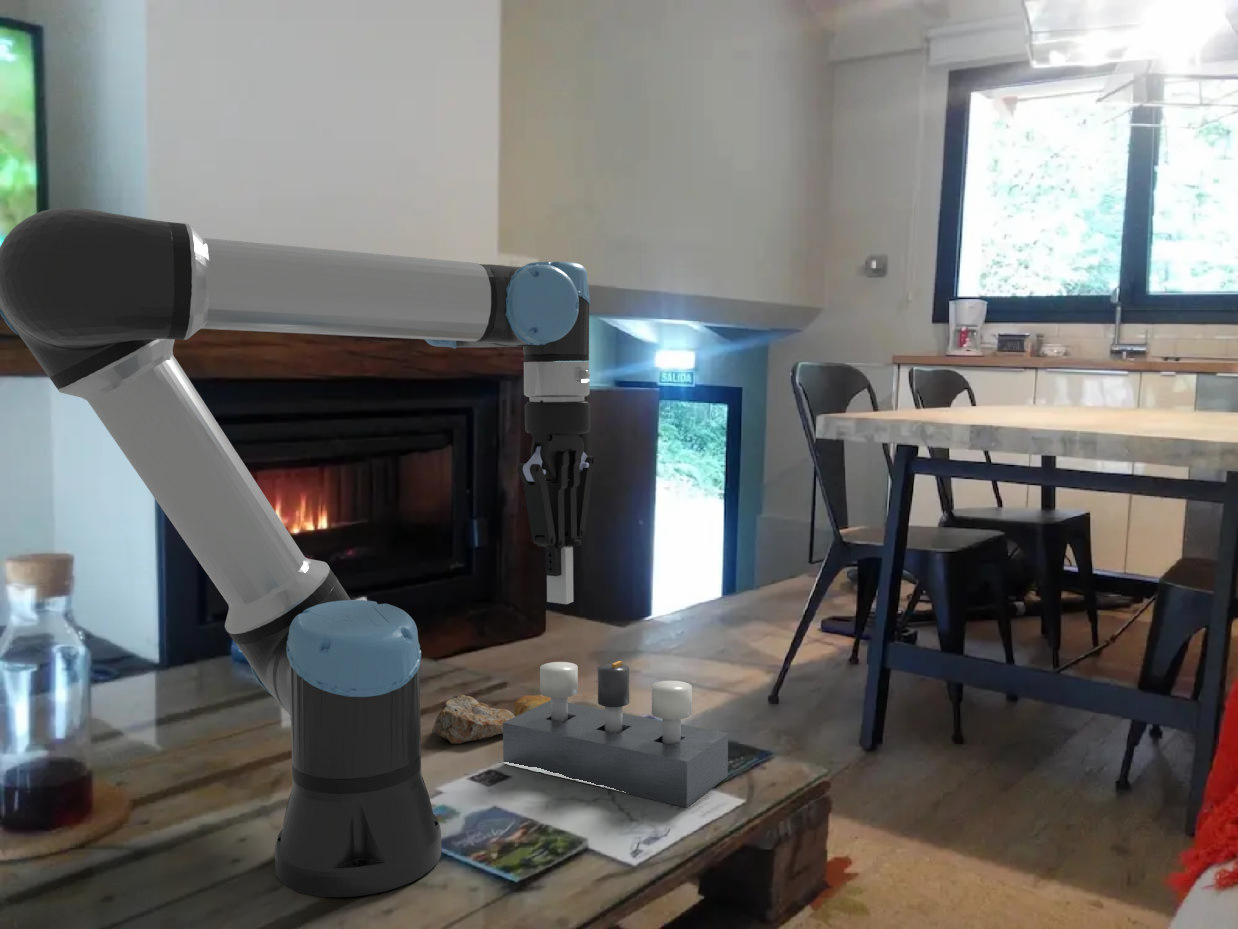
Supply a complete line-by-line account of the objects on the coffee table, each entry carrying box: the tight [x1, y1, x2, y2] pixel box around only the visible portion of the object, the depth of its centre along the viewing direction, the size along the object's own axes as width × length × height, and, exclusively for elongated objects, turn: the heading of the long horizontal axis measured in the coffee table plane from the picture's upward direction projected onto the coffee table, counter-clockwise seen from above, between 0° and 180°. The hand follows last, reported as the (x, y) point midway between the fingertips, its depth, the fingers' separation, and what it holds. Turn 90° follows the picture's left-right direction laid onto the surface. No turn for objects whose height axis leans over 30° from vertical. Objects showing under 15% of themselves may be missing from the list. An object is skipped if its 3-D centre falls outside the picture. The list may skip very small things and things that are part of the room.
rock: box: [431, 693, 516, 745], centre depth 133 cm, size 9×6×10 cm
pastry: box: [513, 694, 551, 716], centre depth 138 cm, size 9×7×4 cm
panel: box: [502, 700, 729, 809], centre depth 120 cm, size 24×10×5 cm, turn 59°
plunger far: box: [539, 661, 579, 723], centre depth 124 cm, size 4×4×8 cm
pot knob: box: [597, 660, 630, 734], centre depth 120 cm, size 4×4×9 cm
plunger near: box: [651, 680, 693, 745], centre depth 116 cm, size 4×4×8 cm
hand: (560, 601), depth 123 cm, fingers closed
